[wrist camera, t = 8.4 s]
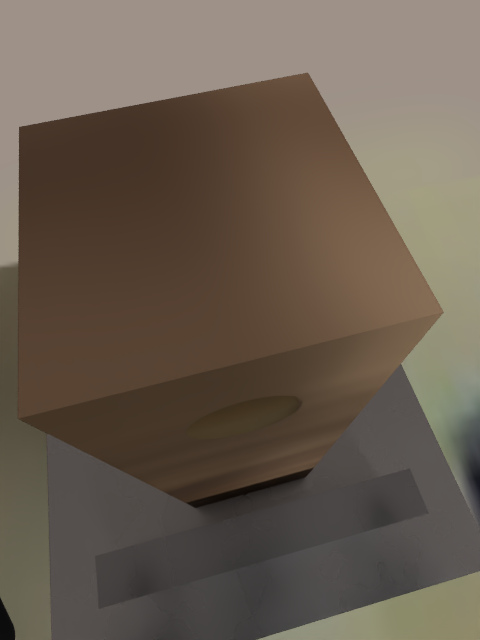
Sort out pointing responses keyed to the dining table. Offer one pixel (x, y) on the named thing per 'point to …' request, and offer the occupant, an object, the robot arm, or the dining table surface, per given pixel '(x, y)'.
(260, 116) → the brown wooden block
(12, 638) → the robot arm
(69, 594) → the keeper bracket
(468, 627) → the dining table surface
